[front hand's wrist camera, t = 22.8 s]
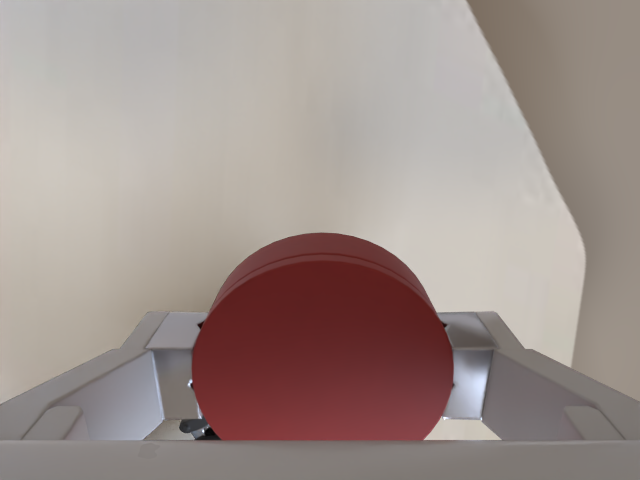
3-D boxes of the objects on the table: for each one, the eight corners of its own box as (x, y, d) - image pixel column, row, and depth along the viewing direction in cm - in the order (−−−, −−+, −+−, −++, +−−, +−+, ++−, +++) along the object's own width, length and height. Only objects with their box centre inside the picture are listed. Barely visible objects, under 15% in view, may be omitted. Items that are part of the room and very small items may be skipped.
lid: (221, 425, 11) (205, 481, 9) (199, 232, 9) (174, 262, 8) (425, 423, 11) (442, 479, 9) (443, 229, 9) (468, 259, 8)
